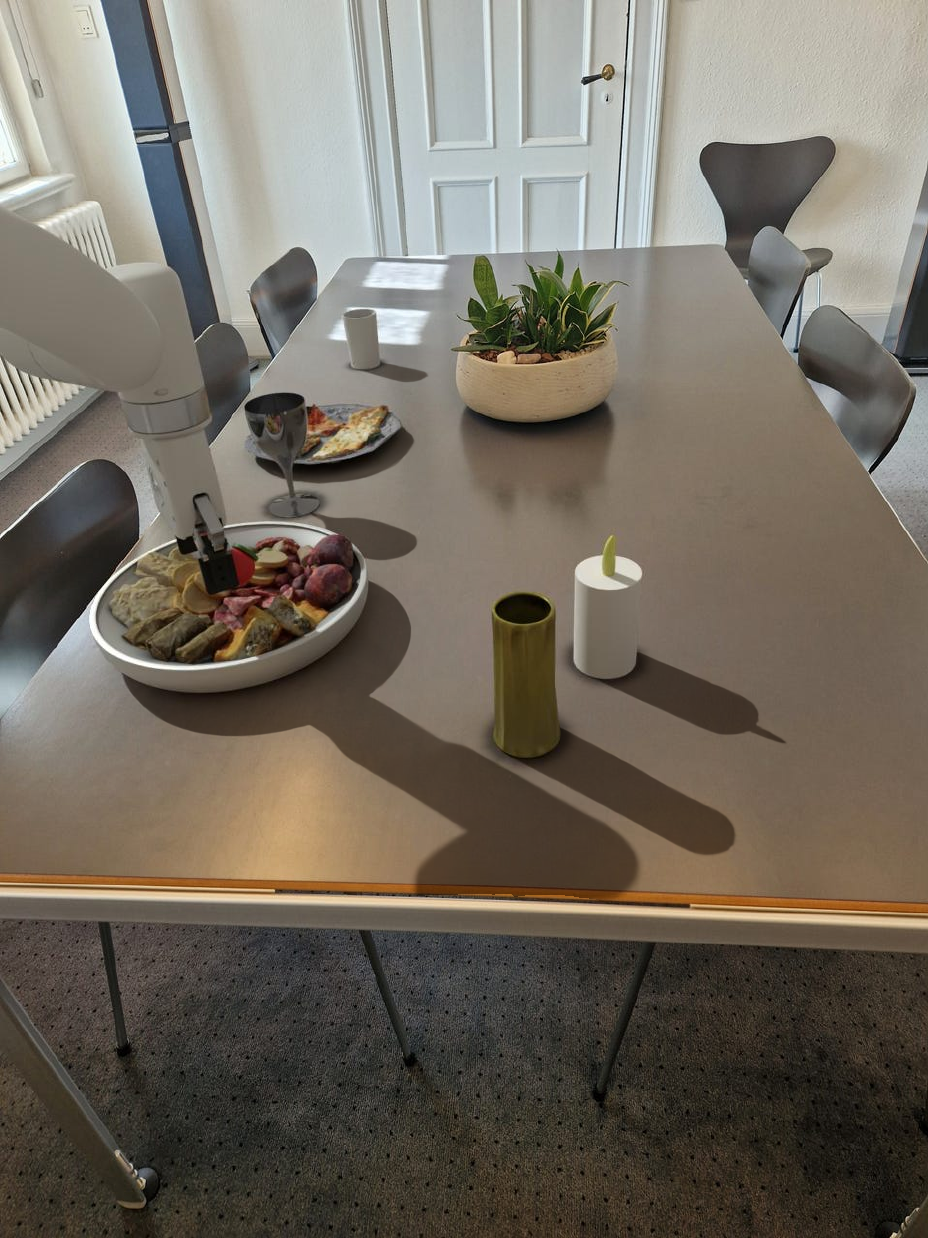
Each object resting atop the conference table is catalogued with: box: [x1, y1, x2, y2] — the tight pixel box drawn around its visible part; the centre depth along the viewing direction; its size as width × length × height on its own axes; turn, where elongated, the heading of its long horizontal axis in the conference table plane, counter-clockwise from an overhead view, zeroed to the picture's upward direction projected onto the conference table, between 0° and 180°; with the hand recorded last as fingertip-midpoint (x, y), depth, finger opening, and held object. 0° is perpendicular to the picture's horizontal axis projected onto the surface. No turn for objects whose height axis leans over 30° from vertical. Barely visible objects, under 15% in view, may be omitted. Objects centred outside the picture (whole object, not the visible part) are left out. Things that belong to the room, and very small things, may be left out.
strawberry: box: [231, 543, 259, 586], centre depth 90 cm, size 4×4×4 cm
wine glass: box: [243, 392, 321, 518], centre depth 116 cm, size 8×8×15 cm
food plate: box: [243, 403, 403, 465], centre depth 137 cm, size 25×23×4 cm
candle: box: [573, 534, 643, 680], centre depth 83 cm, size 6×6×15 cm
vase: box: [491, 590, 561, 759], centre depth 74 cm, size 6×6×14 cm
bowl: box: [88, 520, 369, 694], centre depth 94 cm, size 30×30×8 cm
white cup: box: [341, 308, 381, 370], centre depth 167 cm, size 7×7×10 cm
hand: (208, 569), depth 88 cm, fingers open, 9 cm apart
